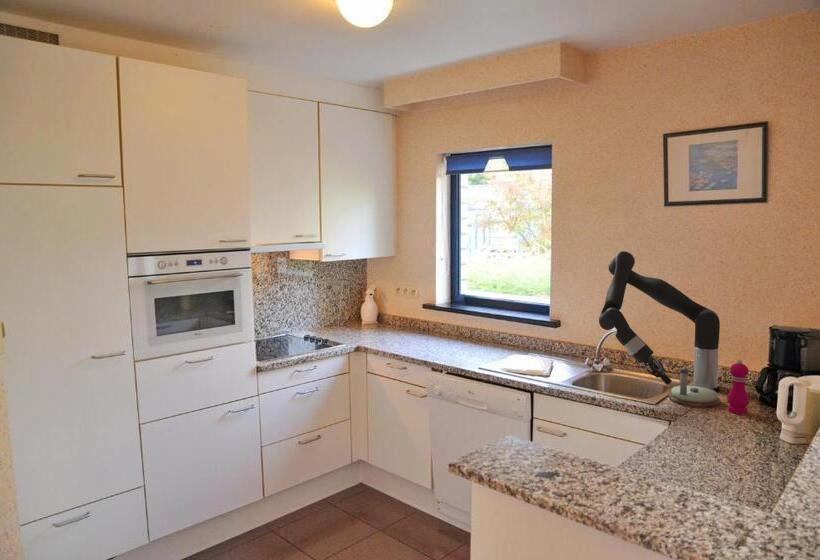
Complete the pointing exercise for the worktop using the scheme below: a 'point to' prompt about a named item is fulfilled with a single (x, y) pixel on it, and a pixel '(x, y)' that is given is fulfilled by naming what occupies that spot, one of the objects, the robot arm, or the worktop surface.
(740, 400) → the pepper mill
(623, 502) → the worktop surface
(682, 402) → the grey flat disc
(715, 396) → the dial
